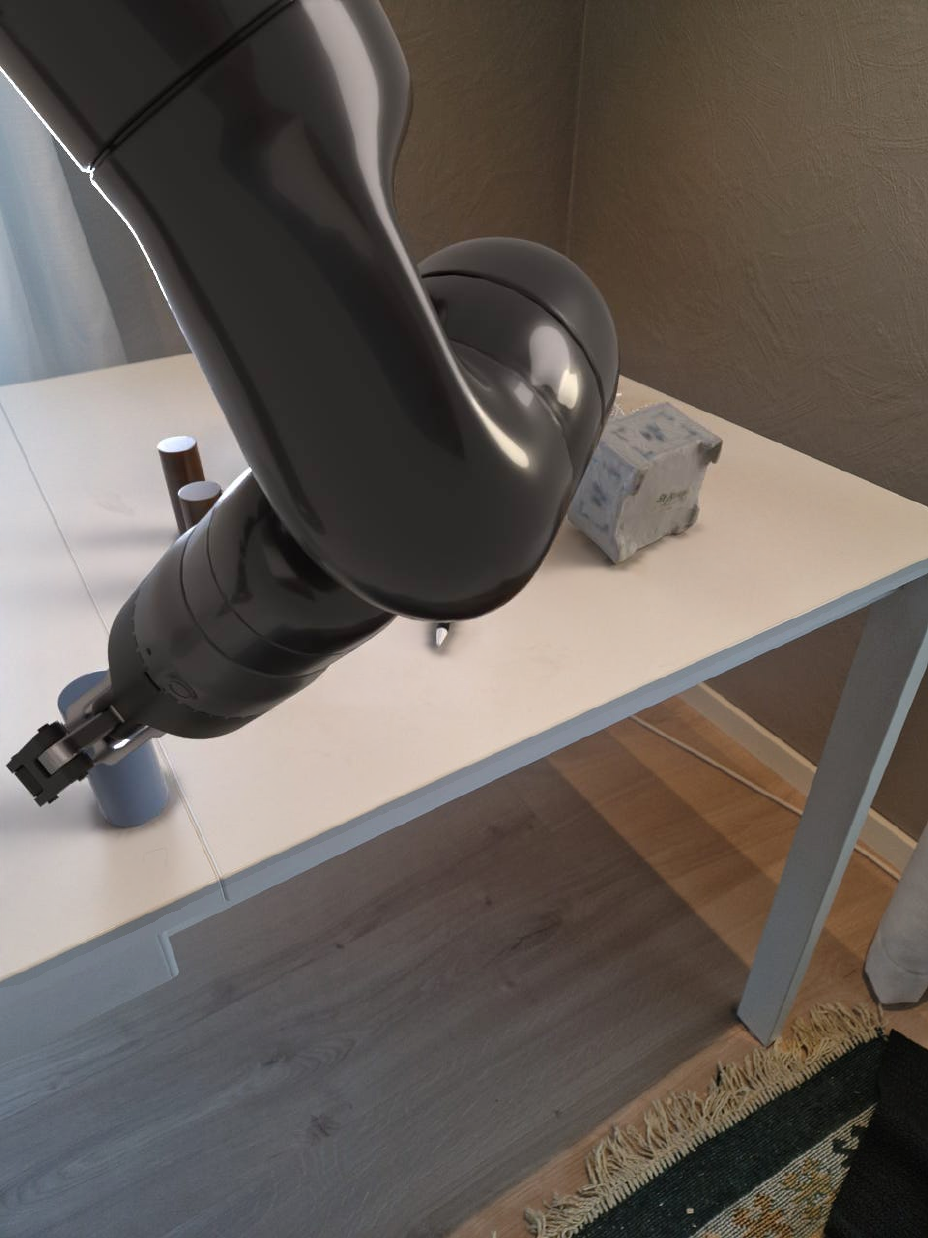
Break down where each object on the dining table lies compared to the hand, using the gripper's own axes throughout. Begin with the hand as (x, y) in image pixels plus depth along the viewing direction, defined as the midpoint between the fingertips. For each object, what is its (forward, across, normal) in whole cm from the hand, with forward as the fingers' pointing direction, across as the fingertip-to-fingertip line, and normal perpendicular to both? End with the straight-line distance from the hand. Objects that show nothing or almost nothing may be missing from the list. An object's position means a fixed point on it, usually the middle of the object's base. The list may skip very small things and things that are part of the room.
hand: (123, 720), depth 47 cm
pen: (+5, -31, +6) cm, 32 cm away
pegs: (+19, -21, -8) cm, 29 cm away
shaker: (+7, 0, +4) cm, 8 cm away
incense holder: (-1, -45, +13) cm, 47 cm away
